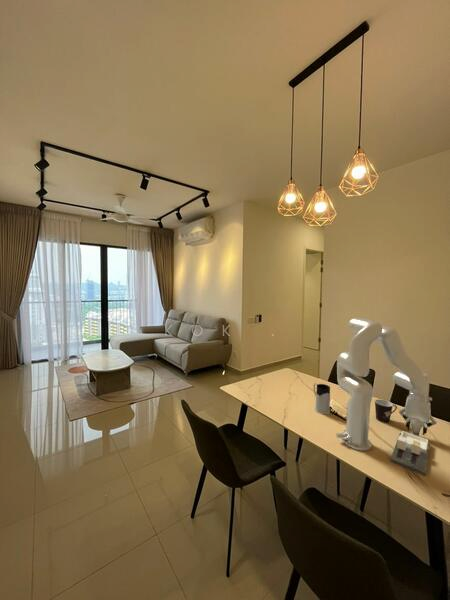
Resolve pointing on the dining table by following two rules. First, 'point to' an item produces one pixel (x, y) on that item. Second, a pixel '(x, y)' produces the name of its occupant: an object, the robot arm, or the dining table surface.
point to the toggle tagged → (415, 447)
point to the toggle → (402, 443)
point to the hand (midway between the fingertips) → (416, 431)
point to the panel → (411, 459)
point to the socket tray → (413, 437)
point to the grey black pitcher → (322, 398)
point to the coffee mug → (383, 410)
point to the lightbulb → (416, 425)
